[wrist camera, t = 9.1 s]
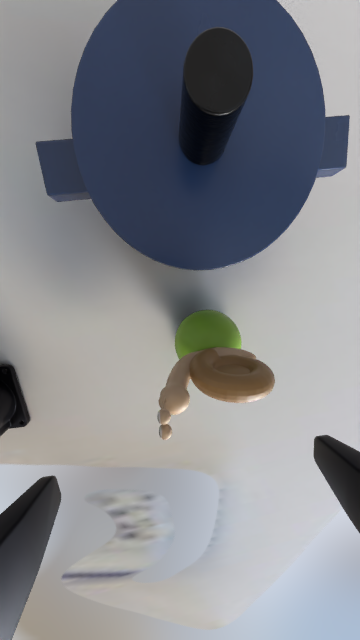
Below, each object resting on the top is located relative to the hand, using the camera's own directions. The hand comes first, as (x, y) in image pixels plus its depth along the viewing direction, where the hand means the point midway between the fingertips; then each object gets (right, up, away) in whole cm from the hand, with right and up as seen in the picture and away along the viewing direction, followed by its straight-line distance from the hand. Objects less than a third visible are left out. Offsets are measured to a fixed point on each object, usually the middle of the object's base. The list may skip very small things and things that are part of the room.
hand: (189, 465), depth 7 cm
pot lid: (+1, +13, +3) cm, 14 cm away
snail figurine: (+1, +4, +13) cm, 13 cm away
